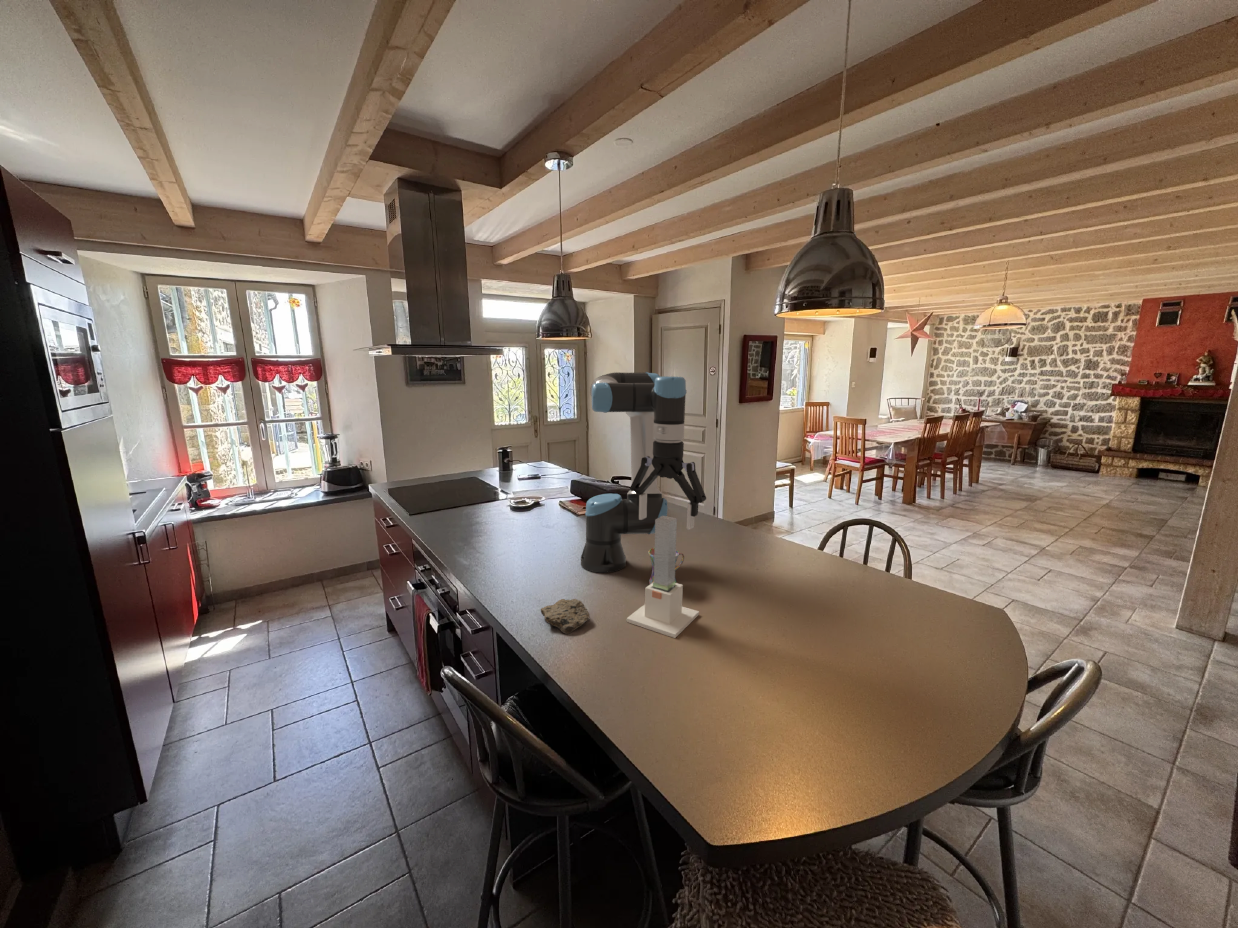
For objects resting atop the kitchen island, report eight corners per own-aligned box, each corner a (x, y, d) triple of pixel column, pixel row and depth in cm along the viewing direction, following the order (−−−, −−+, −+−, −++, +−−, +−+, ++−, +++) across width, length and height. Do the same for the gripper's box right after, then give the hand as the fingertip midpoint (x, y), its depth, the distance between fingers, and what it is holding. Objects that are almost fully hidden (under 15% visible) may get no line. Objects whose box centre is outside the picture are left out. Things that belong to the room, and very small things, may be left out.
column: (660, 587, 131) (662, 515, 127) (675, 591, 129) (677, 518, 125) (652, 593, 127) (654, 519, 124) (667, 597, 125) (669, 522, 121)
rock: (551, 638, 120) (551, 621, 119) (538, 616, 130) (538, 601, 129) (594, 628, 124) (593, 612, 123) (578, 608, 135) (577, 593, 134)
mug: (657, 594, 143) (658, 559, 141) (642, 582, 151) (642, 549, 149) (691, 586, 148) (693, 553, 146) (674, 575, 157) (675, 543, 154)
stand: (653, 600, 139) (653, 571, 137) (698, 614, 131) (700, 583, 130) (626, 621, 127) (627, 589, 126) (674, 638, 120) (676, 603, 118)
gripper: (617, 437, 124) (616, 518, 128) (709, 447, 111) (705, 537, 115) (633, 434, 130) (631, 511, 134) (722, 443, 117) (717, 528, 121)
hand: (665, 523), depth 125 cm, fingers open, 13 cm apart
